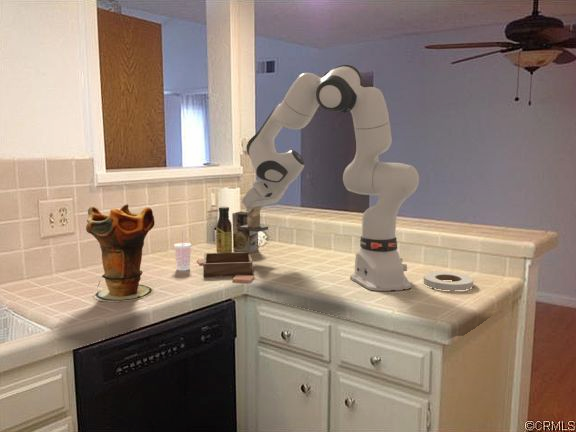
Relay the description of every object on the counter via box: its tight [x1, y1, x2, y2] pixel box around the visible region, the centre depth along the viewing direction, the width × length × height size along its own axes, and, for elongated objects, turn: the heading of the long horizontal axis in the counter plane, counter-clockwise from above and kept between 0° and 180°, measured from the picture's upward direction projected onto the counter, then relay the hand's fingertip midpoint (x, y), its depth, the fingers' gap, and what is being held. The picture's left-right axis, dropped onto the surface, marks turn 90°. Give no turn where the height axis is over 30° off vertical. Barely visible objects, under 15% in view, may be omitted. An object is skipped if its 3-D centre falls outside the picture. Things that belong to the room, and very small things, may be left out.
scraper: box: [239, 206, 269, 233], centre depth 199 cm, size 9×6×10 cm
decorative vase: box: [85, 203, 155, 303], centre depth 157 cm, size 21×23×28 cm
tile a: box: [196, 258, 204, 266], centre depth 197 cm, size 6×6×1 cm
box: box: [202, 251, 254, 278], centre depth 186 cm, size 17×17×4 cm
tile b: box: [232, 275, 255, 284], centre depth 173 cm, size 6×6×1 cm
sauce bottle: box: [215, 206, 233, 253], centre depth 207 cm, size 6×6×20 cm
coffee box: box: [231, 211, 259, 254], centre depth 218 cm, size 9×6×16 cm
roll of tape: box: [423, 271, 474, 291], centre depth 167 cm, size 16×15×3 cm
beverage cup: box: [173, 230, 192, 271], centre depth 187 cm, size 6×6×14 cm
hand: (252, 210), depth 199 cm, fingers closed on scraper, 4 cm apart
